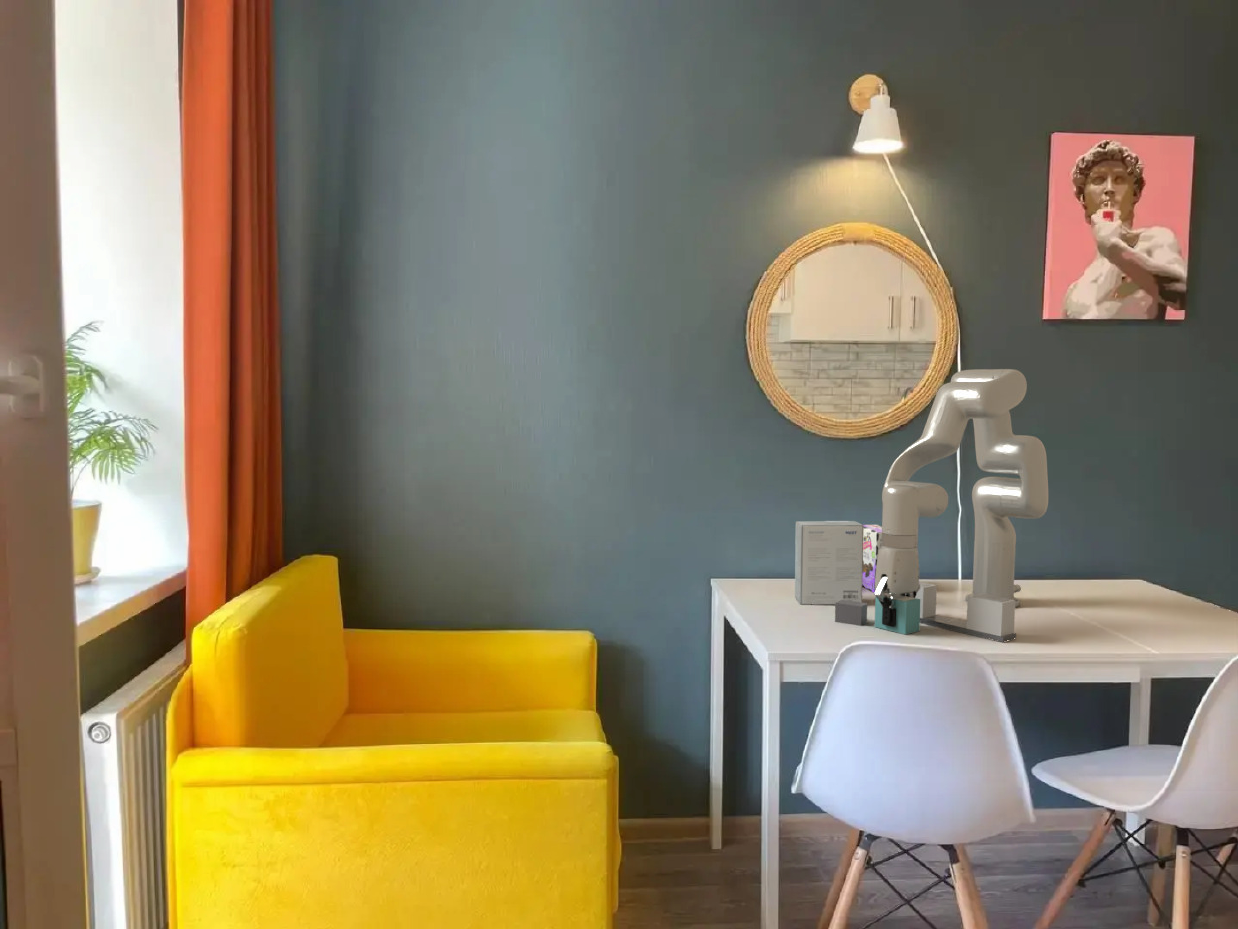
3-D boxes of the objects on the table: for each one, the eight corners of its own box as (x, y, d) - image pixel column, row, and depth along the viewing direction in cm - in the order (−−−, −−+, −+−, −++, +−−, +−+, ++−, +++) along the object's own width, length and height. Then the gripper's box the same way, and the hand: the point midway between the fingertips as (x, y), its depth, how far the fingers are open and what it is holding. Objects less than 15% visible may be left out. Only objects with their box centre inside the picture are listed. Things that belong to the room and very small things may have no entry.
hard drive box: (854, 599, 231) (857, 520, 230) (862, 605, 224) (865, 525, 222) (793, 598, 231) (795, 520, 230) (799, 605, 224) (801, 524, 222)
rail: (890, 616, 213) (890, 611, 213) (903, 613, 216) (904, 608, 216) (1002, 642, 191) (1003, 636, 190) (1015, 639, 194) (1016, 633, 193)
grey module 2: (966, 628, 197) (967, 596, 197) (979, 625, 200) (980, 593, 200) (1000, 636, 191) (1002, 602, 190) (1013, 633, 194) (1015, 600, 193)
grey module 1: (892, 611, 212) (893, 581, 212) (905, 608, 215) (906, 579, 215) (922, 618, 206) (923, 587, 206) (935, 615, 209) (936, 584, 208)
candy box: (855, 583, 251) (857, 524, 250) (875, 583, 252) (877, 524, 251) (874, 594, 238) (876, 531, 237) (896, 593, 238) (898, 531, 237)
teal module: (888, 623, 205) (889, 592, 205) (919, 631, 199) (920, 598, 198) (874, 626, 202) (875, 595, 202) (905, 634, 196) (906, 601, 195)
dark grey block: (841, 619, 210) (841, 599, 210) (866, 622, 207) (867, 603, 206) (834, 622, 207) (835, 602, 206) (860, 626, 203) (861, 606, 203)
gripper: (908, 536, 207) (906, 615, 209) (860, 542, 197) (858, 625, 198) (937, 540, 201) (934, 621, 203) (889, 547, 191) (886, 633, 192)
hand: (897, 622), depth 200 cm, fingers closed on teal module, 5 cm apart
